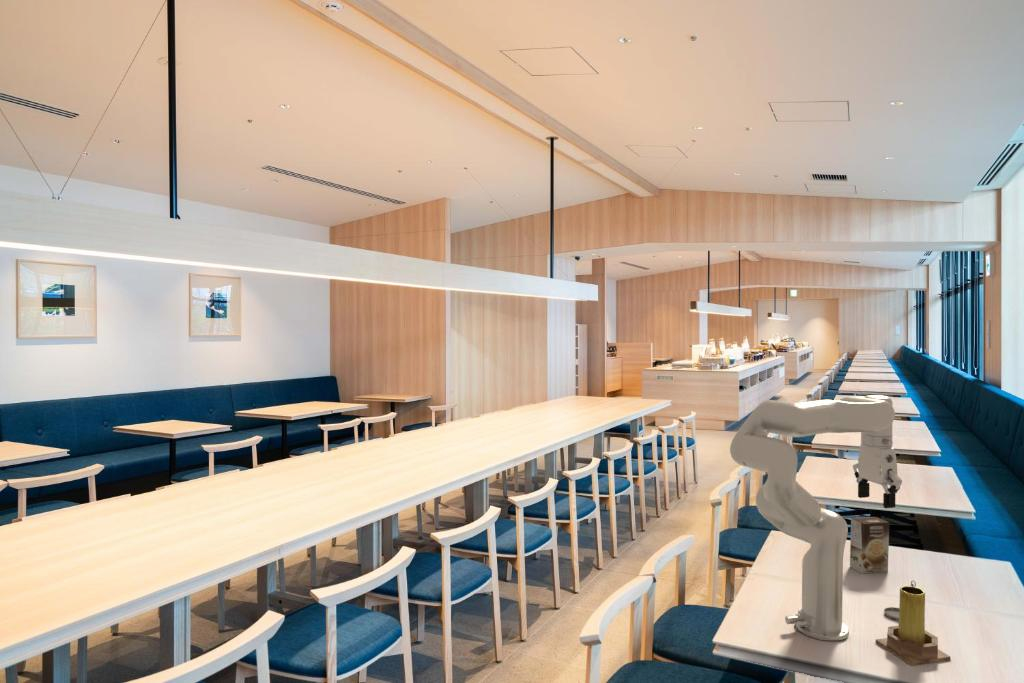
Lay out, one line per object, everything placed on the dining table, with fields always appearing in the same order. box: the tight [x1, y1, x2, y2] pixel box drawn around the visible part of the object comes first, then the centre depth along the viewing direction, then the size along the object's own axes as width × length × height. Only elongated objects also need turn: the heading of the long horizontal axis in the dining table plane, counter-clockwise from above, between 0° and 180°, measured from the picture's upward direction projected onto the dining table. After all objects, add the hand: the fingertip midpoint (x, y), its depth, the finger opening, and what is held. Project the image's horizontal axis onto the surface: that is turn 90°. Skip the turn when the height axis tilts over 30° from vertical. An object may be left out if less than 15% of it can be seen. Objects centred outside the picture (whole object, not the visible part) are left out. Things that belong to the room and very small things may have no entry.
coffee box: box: [849, 516, 890, 574], centre depth 210 cm, size 9×6×16 cm
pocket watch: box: [883, 580, 917, 621], centre depth 178 cm, size 8×8×10 cm
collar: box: [875, 624, 951, 667], centre depth 160 cm, size 11×11×4 cm
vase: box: [898, 585, 926, 645], centre depth 160 cm, size 6×6×14 cm
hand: (876, 502), depth 181 cm, fingers open, 9 cm apart
